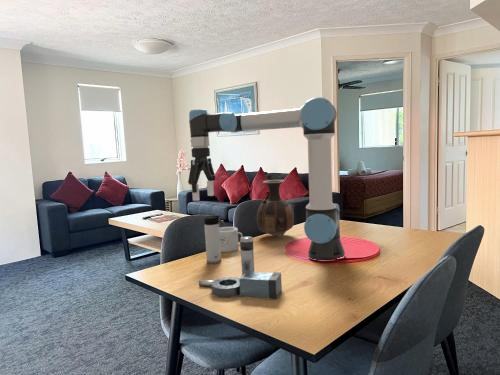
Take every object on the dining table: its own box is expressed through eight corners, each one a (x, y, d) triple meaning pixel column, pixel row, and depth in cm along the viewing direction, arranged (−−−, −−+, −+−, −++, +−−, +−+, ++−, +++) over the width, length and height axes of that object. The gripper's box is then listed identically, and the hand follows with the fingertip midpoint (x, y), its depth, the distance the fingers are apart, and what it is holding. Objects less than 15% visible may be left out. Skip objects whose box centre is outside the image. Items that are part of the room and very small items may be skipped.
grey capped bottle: (256, 279, 137) (254, 236, 136) (253, 284, 133) (250, 239, 131) (244, 278, 139) (242, 236, 137) (240, 283, 134) (237, 239, 133)
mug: (212, 251, 177) (211, 231, 176) (222, 245, 187) (221, 226, 186) (238, 253, 172) (237, 232, 171) (247, 247, 182) (246, 227, 181)
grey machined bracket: (283, 288, 127) (282, 270, 127) (275, 301, 117) (274, 282, 116) (203, 283, 137) (201, 266, 136) (189, 294, 126) (187, 276, 126)
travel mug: (219, 264, 158) (216, 217, 156) (204, 263, 159) (201, 217, 157) (223, 259, 164) (221, 214, 162) (209, 259, 165) (206, 214, 163)
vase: (257, 232, 211) (255, 179, 208) (292, 231, 210) (290, 177, 207) (257, 243, 188) (254, 183, 185) (296, 241, 187) (293, 181, 184)
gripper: (205, 147, 170) (208, 193, 172) (176, 148, 146) (180, 202, 149) (220, 146, 167) (223, 193, 169) (194, 147, 144) (197, 202, 146)
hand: (203, 198), depth 159 cm, fingers open, 13 cm apart
